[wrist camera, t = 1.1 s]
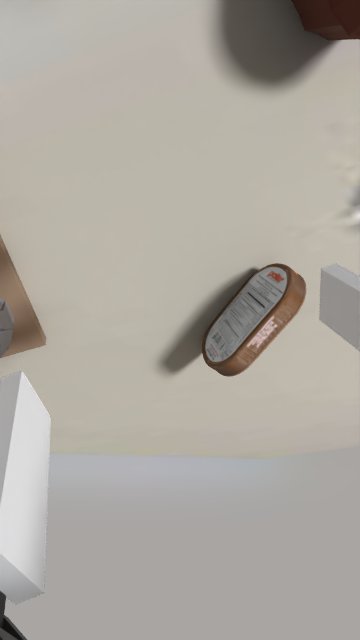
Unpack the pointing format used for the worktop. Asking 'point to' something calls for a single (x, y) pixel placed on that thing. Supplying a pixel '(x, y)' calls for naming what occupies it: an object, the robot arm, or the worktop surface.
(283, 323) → the tin
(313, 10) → the muffin
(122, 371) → the worktop surface
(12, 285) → the board
